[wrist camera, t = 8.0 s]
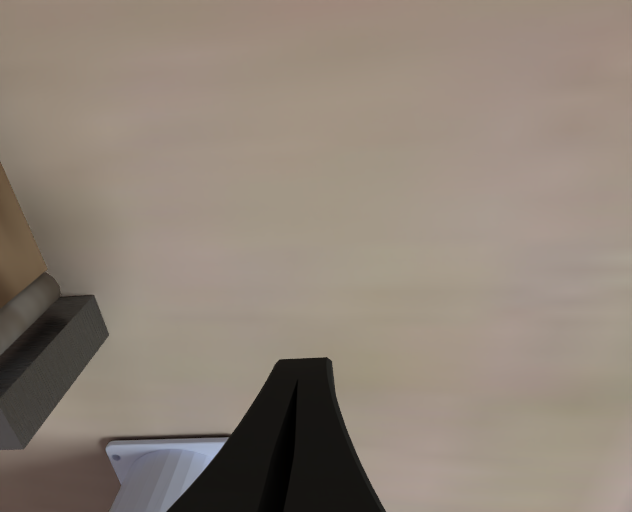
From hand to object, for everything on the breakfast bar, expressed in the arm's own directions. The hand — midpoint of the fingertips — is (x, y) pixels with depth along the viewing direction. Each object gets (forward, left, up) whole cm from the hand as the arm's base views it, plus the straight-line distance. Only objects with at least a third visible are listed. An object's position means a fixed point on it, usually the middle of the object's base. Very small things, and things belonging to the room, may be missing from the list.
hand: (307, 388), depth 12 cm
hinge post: (-4, +13, -9) cm, 16 cm away
